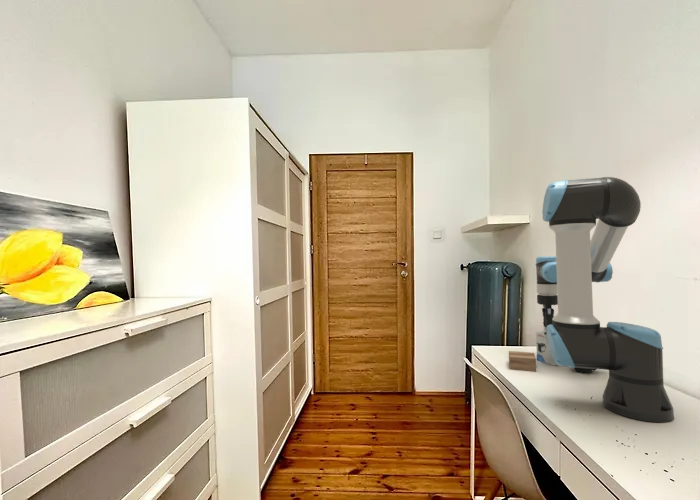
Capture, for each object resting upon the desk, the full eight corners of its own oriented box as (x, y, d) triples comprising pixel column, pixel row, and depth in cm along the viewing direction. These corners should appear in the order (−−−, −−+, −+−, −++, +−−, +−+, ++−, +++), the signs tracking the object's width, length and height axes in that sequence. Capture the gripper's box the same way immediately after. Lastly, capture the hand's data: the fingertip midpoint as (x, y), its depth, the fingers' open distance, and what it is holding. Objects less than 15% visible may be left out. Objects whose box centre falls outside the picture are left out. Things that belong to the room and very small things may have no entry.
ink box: (536, 360, 144) (535, 331, 145) (545, 358, 146) (544, 330, 146) (553, 365, 136) (552, 335, 137) (563, 364, 138) (562, 334, 138)
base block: (536, 372, 130) (536, 358, 130) (509, 370, 133) (509, 356, 133) (534, 365, 138) (533, 352, 138) (509, 363, 141) (508, 350, 142)
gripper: (561, 298, 129) (563, 356, 129) (555, 291, 151) (556, 340, 151) (538, 297, 132) (540, 354, 132) (535, 290, 155) (537, 339, 155)
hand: (549, 347), depth 142 cm, fingers open, 13 cm apart
